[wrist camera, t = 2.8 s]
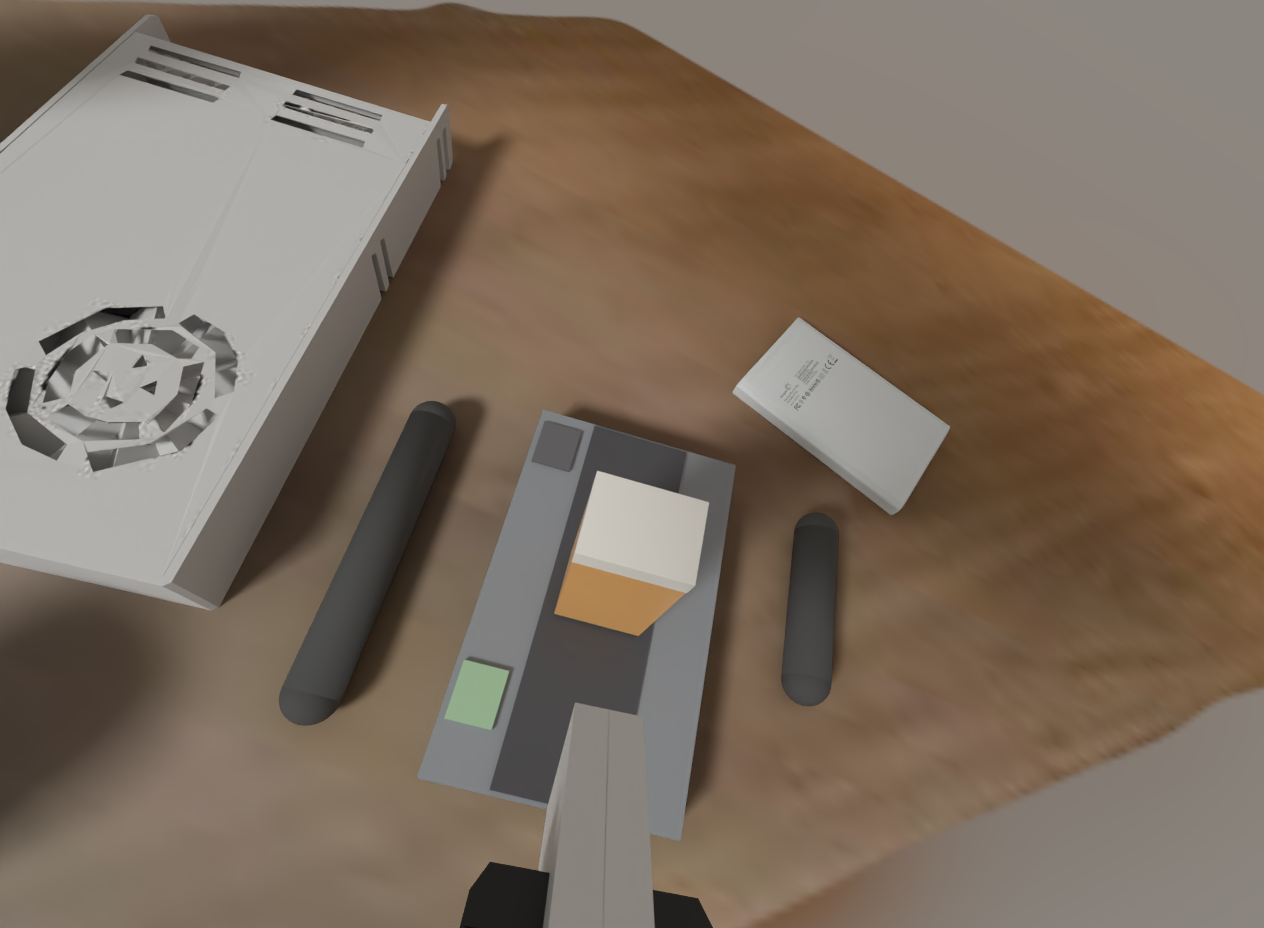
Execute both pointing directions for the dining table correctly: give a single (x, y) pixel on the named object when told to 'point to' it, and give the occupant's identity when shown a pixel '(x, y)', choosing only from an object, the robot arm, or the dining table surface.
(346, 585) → the dark grey rounded rod
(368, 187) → the power supply unit
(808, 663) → the dark grey capsule rod
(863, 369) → the external hard drive
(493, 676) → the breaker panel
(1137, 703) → the dining table surface
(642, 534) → the block
